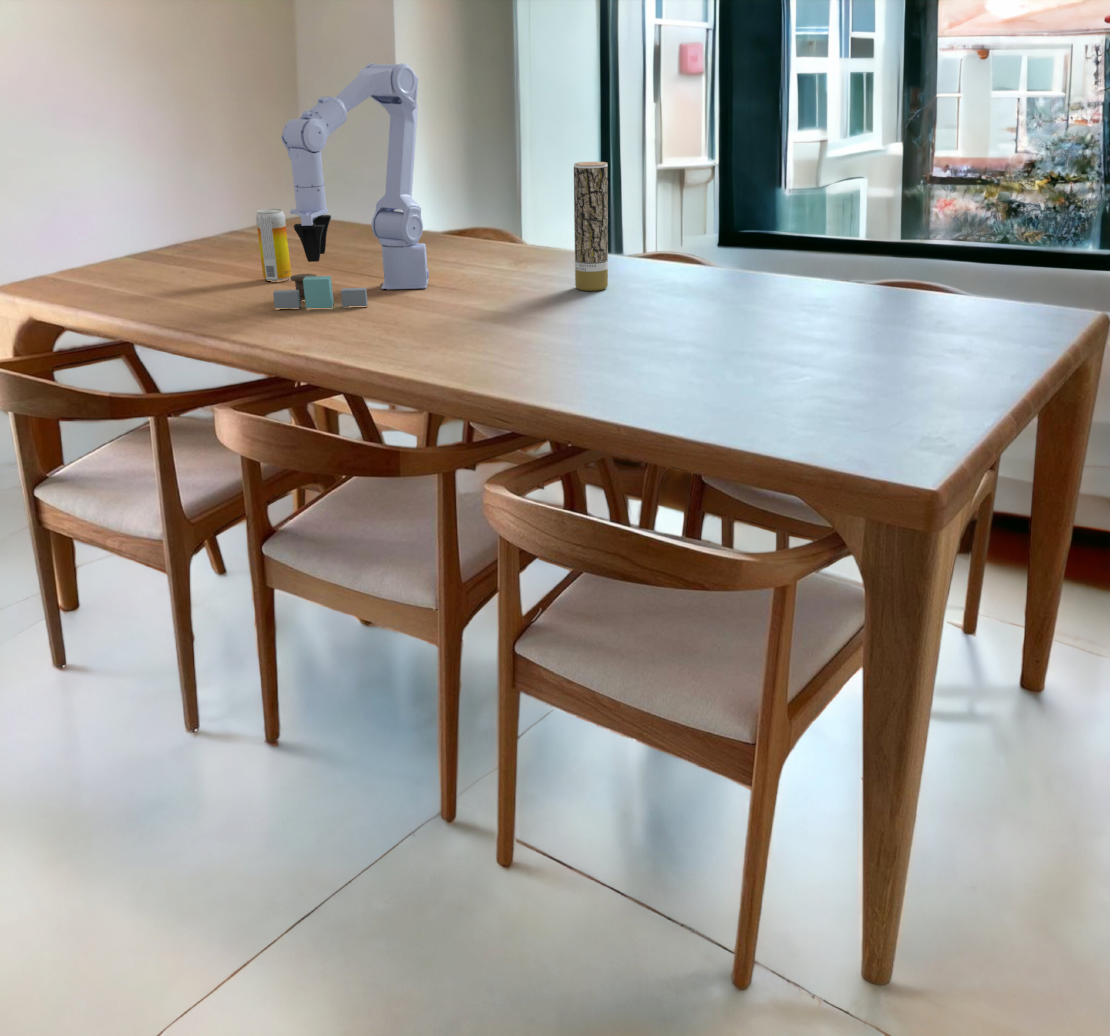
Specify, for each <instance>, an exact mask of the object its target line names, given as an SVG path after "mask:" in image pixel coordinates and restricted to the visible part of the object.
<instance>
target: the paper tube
mask: <svg viewBox="0 0 1110 1036" xmlns="http://www.w3.org/2000/svg"><path fill="white" fill-rule="evenodd" d="M608 167H609V166H608V162H606V161H580V162H579V161H578V162H574V163H573V215H574V216H573V217H574V218H573V219H574V224H573V225H574V227H573V228H574V229H573V230H574V272H575V273H574V275H575V276H574V279H575V281H574V283H575V284H574V285H575V286H574V287H576V289H577V290H579V291H585V292H597V291H603V290H605V289H607V288H608V285H609V279H608V277H609V273H608V272H609V271H608V269H609V238H608V237H609V232H608V231H609V230H608V229H609V225H608V223H609V217H608V216H609V214H608V213H609V207H608V206H609V203H608V202H609V199H608V198H609V197H608V196H609V189H608V188H609V186H608V185H609V182H608V180H609V179H608V177H609V175H608V174H609V173H608V171H609V169H608Z"/></svg>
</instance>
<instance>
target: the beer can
mask: <svg viewBox="0 0 1110 1036" xmlns="http://www.w3.org/2000/svg"><path fill="white" fill-rule="evenodd" d="M255 221H256V228H257V237H258V246H259V253H260V261H261V269H262V277H263V279H264V280H265V279H266V280H272V281H277V280H283V279H288V278H289V279H291V278H290V277H291V276H292V269H291V259H290V252H289V251H290V250H289V242H288V240H289V239H288V234H287V233H288V232H287V225H286V215H285V213H284V211H283V209H281V208H264V209H258V210H257V211H256V215H255ZM266 280H265V281H266Z"/></svg>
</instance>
